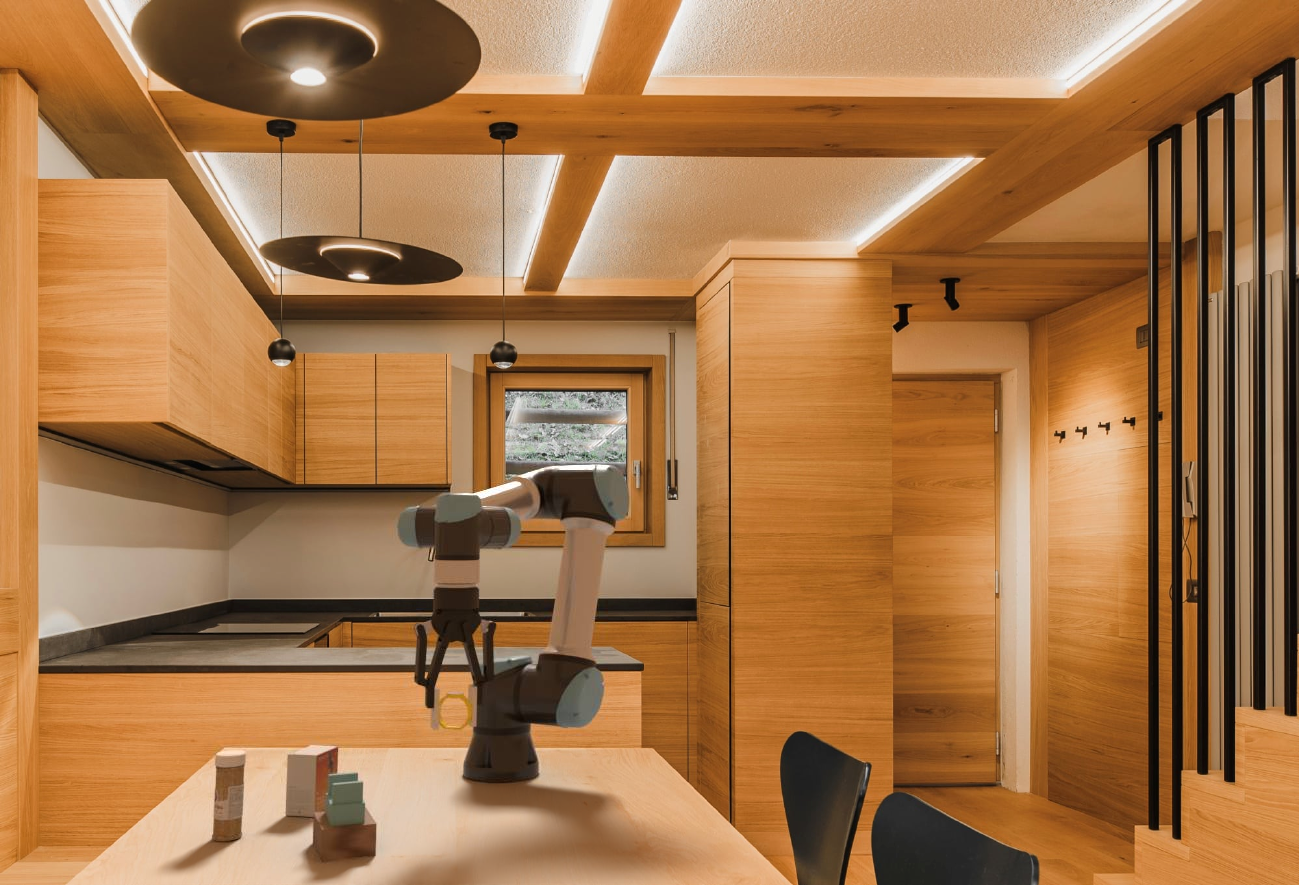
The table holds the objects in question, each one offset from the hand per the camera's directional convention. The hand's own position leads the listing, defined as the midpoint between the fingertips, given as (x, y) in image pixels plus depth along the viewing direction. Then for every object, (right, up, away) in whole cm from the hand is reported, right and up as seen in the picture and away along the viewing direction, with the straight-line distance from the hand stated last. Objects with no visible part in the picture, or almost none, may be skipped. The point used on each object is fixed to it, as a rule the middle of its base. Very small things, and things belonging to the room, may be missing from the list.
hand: (453, 726), depth 169 cm
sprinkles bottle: (-35, -16, -6) cm, 39 cm away
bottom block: (-15, -16, -11) cm, 25 cm away
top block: (-15, -11, -11) cm, 21 cm away
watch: (0, -1, 0) cm, 1 cm away
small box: (-27, -18, +10) cm, 33 cm away
